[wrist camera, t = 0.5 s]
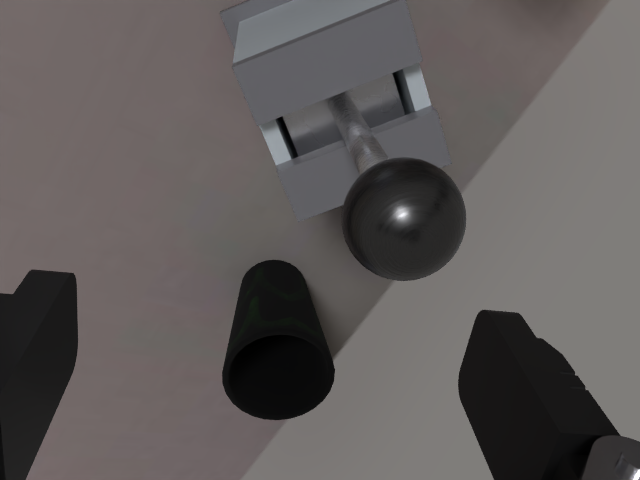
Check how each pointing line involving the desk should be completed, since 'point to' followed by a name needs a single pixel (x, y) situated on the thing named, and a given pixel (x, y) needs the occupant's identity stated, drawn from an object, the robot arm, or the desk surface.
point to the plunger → (385, 185)
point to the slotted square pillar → (329, 85)
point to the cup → (276, 346)
